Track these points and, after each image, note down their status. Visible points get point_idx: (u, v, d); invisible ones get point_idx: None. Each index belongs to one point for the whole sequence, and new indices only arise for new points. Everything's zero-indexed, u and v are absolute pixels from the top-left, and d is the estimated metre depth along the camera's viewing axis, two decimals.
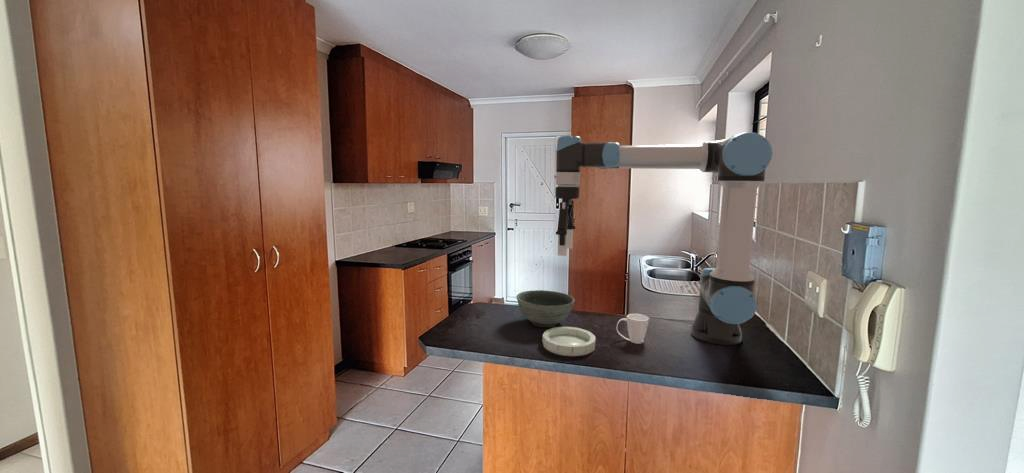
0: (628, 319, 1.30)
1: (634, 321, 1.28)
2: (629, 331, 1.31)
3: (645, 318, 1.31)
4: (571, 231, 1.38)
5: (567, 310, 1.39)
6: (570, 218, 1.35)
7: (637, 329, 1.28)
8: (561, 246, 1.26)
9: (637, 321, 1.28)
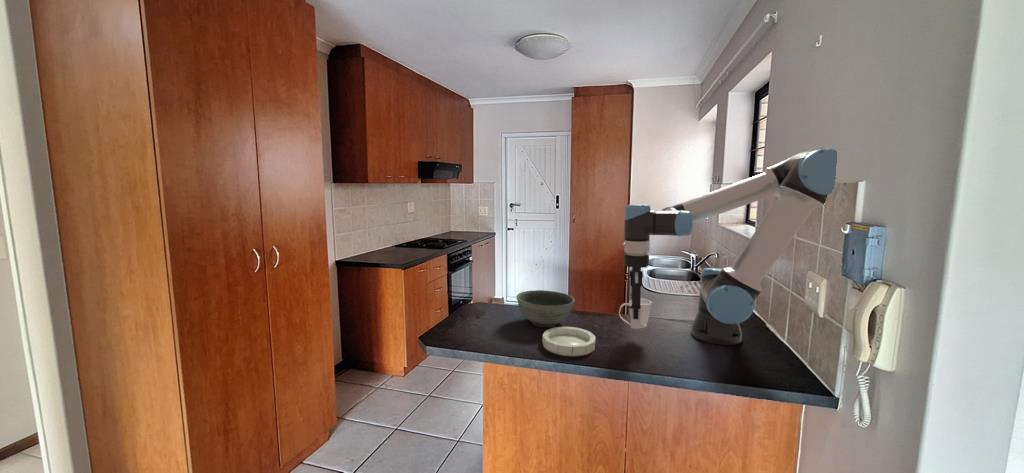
0: (631, 304, 1.29)
1: None
2: None
3: (648, 302, 1.30)
4: None
5: (567, 310, 1.39)
6: None
7: (640, 313, 1.27)
8: (634, 319, 1.27)
9: (640, 305, 1.26)
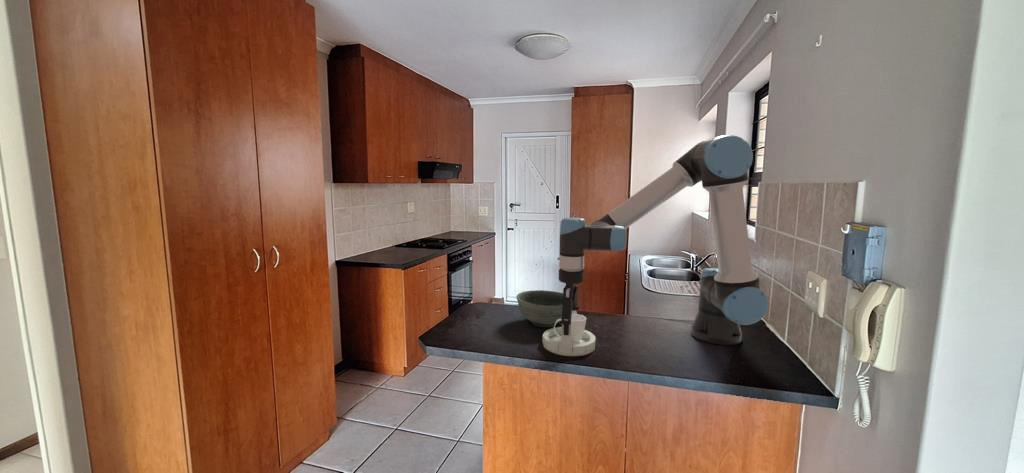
0: None
1: None
2: None
3: (583, 318, 1.28)
4: (574, 313, 1.32)
5: None
6: None
7: (573, 330, 1.24)
8: (565, 335, 1.21)
9: (573, 321, 1.23)
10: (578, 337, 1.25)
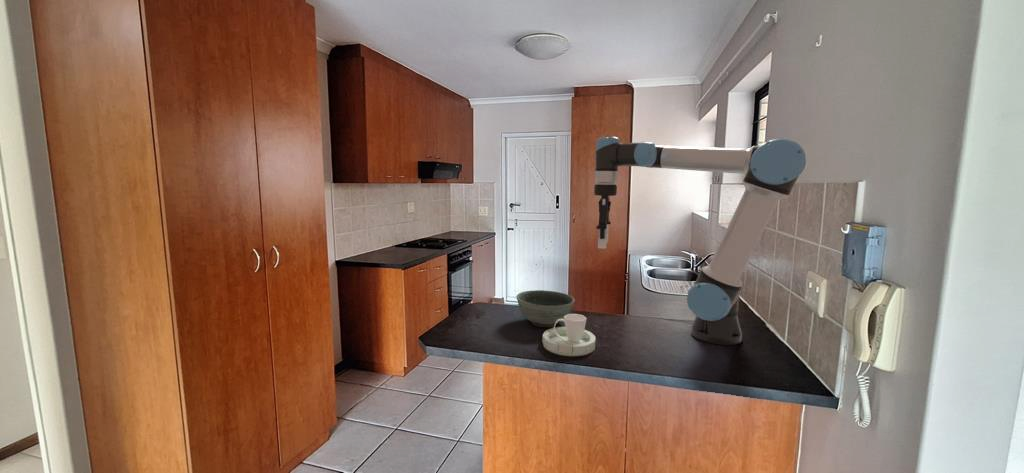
0: (565, 319, 1.26)
1: (570, 321, 1.24)
2: (566, 332, 1.27)
3: (583, 318, 1.28)
4: (607, 226, 1.47)
5: (567, 310, 1.39)
6: (607, 214, 1.45)
7: (573, 330, 1.24)
8: (601, 239, 1.35)
9: (573, 321, 1.23)
10: (578, 337, 1.25)
